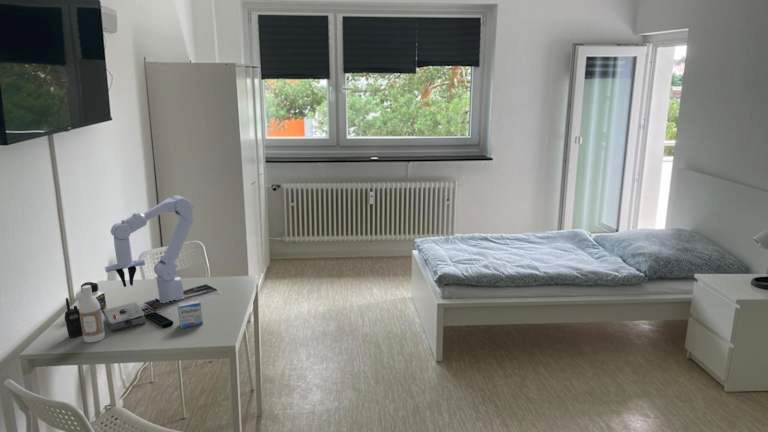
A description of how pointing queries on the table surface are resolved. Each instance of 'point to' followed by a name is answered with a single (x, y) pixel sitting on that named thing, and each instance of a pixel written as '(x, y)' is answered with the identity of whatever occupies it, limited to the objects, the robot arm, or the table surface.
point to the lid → (122, 313)
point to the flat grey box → (126, 323)
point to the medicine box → (190, 313)
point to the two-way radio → (73, 321)
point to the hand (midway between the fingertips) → (128, 285)
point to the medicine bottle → (95, 294)
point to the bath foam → (91, 316)
